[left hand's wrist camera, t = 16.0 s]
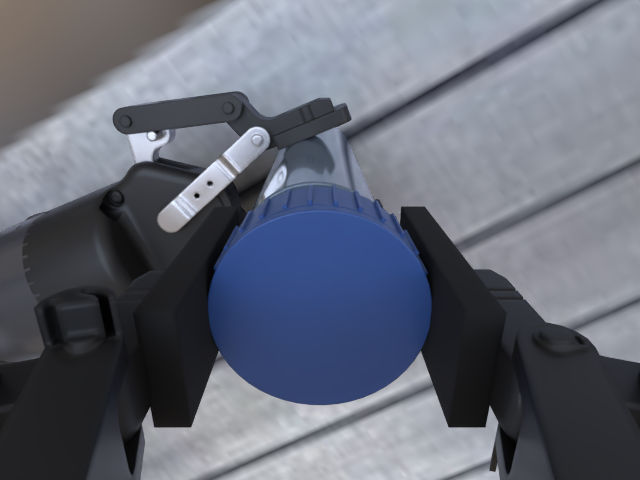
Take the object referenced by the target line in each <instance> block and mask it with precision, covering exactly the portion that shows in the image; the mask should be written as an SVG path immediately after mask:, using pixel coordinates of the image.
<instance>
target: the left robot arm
mask: <svg viewBox="0 0 640 480" xmlns="http://www.w3.org/2000/svg"><path fill="white" fill-rule="evenodd" d="M236 225H237V226H238V227H239V226H240V223H239V210H238V207H214V209H213V210H212V211H211V213H210V214H209V215H208V216H207V218H206V219H205V220H204V222H203V223H202V224H201V226H200V227H199V228H198V229H197V231H196V232H195V233H194V235H193V236H192V237H191V238H190V240H189V241H188V242H187V244H186V245H185V246H184V248H183V249H182V250H181V251H180V253H179V254H178V255H177V257H176V258H175V259H174V260H173V262H172V263H171V264H170V266H169V267H168V268H167V269H166V271H149V272H147V273H145V274H143V275H142V276H140V277H138V278H136V279H135V280H133V281H132V283H131V284H130V285H129V286H128V287H127V288H126V289H125V292H123V293H122V294H121V295H120V296H119V297H118V298H117V299H116V294H115V291H113V290H112V289H110V288H108V287H103V286H82V287H77V288H71V289H67V290H64V291H61V292H58V293H55V294H53V295H51V296H49V297H47V298H45V299H44V300H42V301H40V302H39V303H38V304H37V305H36V306H35V307H34V312H35V315H36V319H37V322H38V326H39V329H40V333H41V336H42V340H43V343H44V347H45V348H44V350H43V352H42V354H41V356H40V358H36V359H31V360H26V361H20V362H15V363H9V364H4V365H0V480H140V476H141V469H142V461H143V453H144V446H145V439H144V433H143V428H142V422H143V420H144V418H145V416H146V414H147V412H148V410H149V408H150V407H151V412H152V418H153V423H154V427H191V426H192V423H193V420H194V418H195V415H196V412H197V409H198V407H199V404H200V401H201V398H202V396H203V393H204V390H205V387H206V385H207V382H208V379H209V376H210V373H211V371H212V368H213V365H214V362H215V360H216V357H217V354H218V351H219V349H218V348H217V346H216V344H215V341H214V339H213V336H212V333H211V330H210V323H209V314H208V293H209V289H210V284H211V281H212V278H213V276H214V273H215V270H214V269H213V268H214V266H215V264H216V262H217V260H218V258H219V256H220V255H221V253H222V251H223V248H224V247H225V245H226V243H227V241H228V239H229V237H230V236H231V234H232V232H233V230H234V228H235V227H236ZM400 226H401V228H402V230H403V231H404V230H407V232H408V234H409V236H410V237H411V239H412V241H413V243H414V245H415V247H416V248H417V250H418V252H419V254H418V255H419V257H420V259H421V261H422V262H423V264H424V266H425V268H426V270H427V272H428V274H427V275H426V276H427V279H428V282H429V285H430V290H431V296H432V311H431V320H430V328H429V332H428V335H427V338H426V340H425V343H424V345H423V347H422V349H421V352H422V355H423V358H424V360H425V363H426V366H427V369H428V371H429V374H430V377H431V380H432V382H433V385H434V388H435V391H436V394H437V396H438V399H439V402H440V405H441V407H442V410H443V413H444V416H445V418H446V421H447V424H448V427H486V421H487V416H488V411H489V405H490V406H491V408H492V410H493V412H494V414H495V416H496V418H497V420H498V422H499V423H498V428H497V433H496V438H495V443H494V448H493V453H492V458H491V463H490V470H489V471H494V472H495V471H496V466H497V463H498V468H499V475H500V480H640V363H636V362H630V361H625V360H620V359H614V358H609V357H604V356H600V355H599V353H598V351H597V349H596V348H595V346H594V345H593V344H592V343H591V342H590V341H589V340H588V339H587V338H586V337H584V336H582V335H581V334H579V333H578V332H576V331H574V330H571V329H569V328H566V327H564V326H560V325H556V324H551V323H546V322H545V321H544V320H543V319H542V318H541V317H540V316H539V314H538V313H537V312H536V311H535V310H534V309H533V308H532V307H531V306H530V304H529V303H528V302H527V301H526V300H523V297H522V296H521V294H520V293H519V292H518V291H515V288H514V287H513V286H512V284H511V283H510V282H509V281H508V280H507V279H506V278H504V277H503V276H501V275H499V274H497V273H496V272H494V271H492V270H473V269H472V267H471V266H470V265H469V263H468V262H467V261H466V260H465V258H464V257H463V256H462V254H461V253H460V252H459V250H458V249H457V248H456V247H455V245H454V244H453V243H452V241H451V240H450V239H449V238H448V236H447V235H446V234H445V232H444V231H443V230H442V228H441V227H440V226H439V225H438V223H437V222H436V221H435V219H434V218H433V217H432V216H431V214H430V213H429V212H428V210H427V209H426V208H425V207H401V219H400Z"/></svg>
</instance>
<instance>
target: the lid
mask: <svg viewBox="0 0 640 480" xmlns="http://www.w3.org/2000/svg"><path fill="white" fill-rule="evenodd" d="M418 254H419V252H418V250H417V248H416V247H415V245H414V243H413V241H412V239H411V237H410V236H409V234H408V232H407V230H404V231H403V230H402V228H401V226H400V224H399V222H398V220H397V218H396V216H395V215H394V214H393V213H392V214H391V215H390V214H389V213H388V212H387V211H385V210H384V209H383V208H382V207H381V206H380V204H379V202H378V201H377V200H375V201H374V202H373V201H371V200H370V199H368V198H366V197H363V196H361V195H359V192H358V191H356V190H355V191H354V192H350V191H347V190H343V189H337V187H336V186H335V185H332V188H331V187H313V185H309V188H301V189H297V190H293V191H291V189H287V190H286V193H283V194H281V195H278V196H276V197H274V198H272V199H270V198H269V197H268V198H266V199H265V202H264V203H263V204H262V205H261V206H259V207H258V208H257V209H255V210H254V211H252V210H250V211H249V212H248V213H247V215H246V217H245V219H244V221H243V223H242V224H241V225H240V226H239V227H238V226H237V225H236V227H235V228H234V230H233V232H232V234H231V236H230V237H229V239H228V241H227V243H226V245H225V247H224V248H223V251H222V253H221V255H220V256H219V258H218V260H217V262H216V264H215V266H214V268H213V269H214V270H215V273H214V276H213V278H212V281H211V284H210V289H209V293H208V314H209V323H210V330H211V333H212V336H213V339H214V341H215V344H216V346H217V348H218V349H219V351H220V353H221V355H222V356H223V358H224V359H225V360H226V362H227V363H228V364H229V366H230V367H231V368H232V369H233V370H234V371H235V372H236V373H237V374H238V375H239V376H240V377H242V378H243V379H244V380H245V381H247V382H248V383H249V384H251V385H252V386H254V387H256V388H257V389H259V390H261V391H263V392H265V393H267V394H269V395H271V396H274V397H277V398H280V399H282V400H286V401H290V402H294V403H300V404H308V405H331V404H340V403H345V402H350V401H354V400H357V399H360V398H363V397H366V396H368V395H370V394H373V393H375V392H377V391H379V390H380V389H382V388H384V387H386V386H387V385H389V384H390V383H391V382H393V381H394V380H396V379H397V378H398V377H399V376H400V375H401V374H402V373H404V372H405V371H406V370H407V368H408V367H409V366H410V365H411V364H412V363H413V361H414V360H415V359H416V357H417V355H418V354H419V352H420V351H421V349H422V347H423V345H424V343H425V340H426V338H427V335H428V332H429V328H430V320H431V311H432V296H431V290H430V285H429V282H428V279H427V276H426V275H427V274H428V272H427V270H426V268H425V266H424V264H423V262H422V261H421V259H420V257H419V255H418Z"/></svg>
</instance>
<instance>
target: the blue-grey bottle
mask: <svg viewBox="0 0 640 480" xmlns="http://www.w3.org/2000/svg"><path fill="white" fill-rule="evenodd" d="M309 185H313V187H331V188H332V185H335V186H336V187H337V189H343V190H347V191H350V192H354V191H355V190H356V191H358V192H359V195H361V196H363V197H366V198H368V199H370V200H371V201H373V202H374V198H373V196H372V194H371V191H370V189H369V187H368V185H367V182H366V180H365V178H364V175H363V173H362V171H361V169H360V166H359V164H358V162H357V159H356V157H355V155H354V153H353V150H352V148H351V146H350V143H349V141H348V139H347V138H346V136H345V135H344V134H343V133H342V132H341V131H340V130H339V129H338V128H337V127H335V128H332V129H330V130H328V131H325V132H323V133H320V134H318V135H315V136H313V137H310V138H308V139H306V140H303V141H300V142H298V143H295V144H293V145H291V146H289V147H286V148H284V149H281V150H280V151H279V153H278V155H277V157H276V160H275V162H274V164H273V166H272V168H271V170H270V172H269V175H268V177H267V179H266V181H265V183H264V185H263V188H262V190H261V192H260V194H259V196H258V198H257V200H256V203H255V205H254V207H253V209H252V211H254V210H255V209H257V208H258V207H259V206H261V205H262V204H263V203H264V202H265V199H266V198H268V197H269V198H270V199H272V198H274V197H276V196H278V195H281V194H283V193H286V190H287V189H291V191H293V190H297V189H301V188H309Z"/></svg>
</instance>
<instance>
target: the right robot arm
mask: <svg viewBox="0 0 640 480" xmlns="http://www.w3.org/2000/svg"><path fill="white" fill-rule="evenodd" d="M350 120H351V116H350V113H349V111H348V108H347V105H346V104H345V103H343V104H340V105H337V106H335V107H333V105H332V102H331V99H330V98H318V99H315V100H313V101H311V102H308V103H306V104H303V105H301V106H299V107H296V108H294V109H292V110H289V111H287V112H285V113H282V114H280V115H277V116H275V117H265V116H263V115H261V114H259V113H258V112H257V110H256V109H255V108H254V107H253V106H252V105H251V104H250V103H249V100H248V98H247V96H246V95H245V94H243V93H242V92H238V91H236V92H228V93H220V94H213V95H205V96H197V97H190V98H182V99H174V100H167V101H159V102H152V103H144V104H138V105H133V106H128V107H123V108H119V109H118V110H116V111H115V113H114V115H113V123H114V126H115V127H116V129H117V130H118V131H119V132H121V133H123V134H127V137H128V141H129V144H130V148H131V151H132V155H133V158H134V162H135V165H133V166H132V167H131V168H130V169H129V171H128V172H127V174H126V175H125V177H124V178H123V179H122V180H121V181H119V182H116V183H114V184H111V185H109V186H107V187H104V188H102V189H100V190H97V191H95V192H93V193H90V194H88V195H85V196H83V197H81V198H78V199H76V200H74V201H71V202H69V203H67V204H64V205H62V206H59V207H57V208H55V209H52V210H50V211H48V212H43V213H39V214H36V215H33V216H30V217H29V218H28V219H26V220H25V221H24V222H21V223H19V224H17V225H14V226H12V227H9V228H7V229H5V230H3V231H1V232H0V365H4V364H9V363H15V362H20V361H26V360H31V359H34V358H38V357H40V356H41V354H42V352H43V350H44V348H45V347H44V343H43V340H42V336H41V333H40V329H39V326H38V322H37V319H36V315H35V312H34V307H35V306H36V305H37V304H38V303H39V302H40V301H42V300H44V299H45V298H47V297H49V296H51V295H53V294H55V293H58V292H61V291H64V290H67V289H71V288H77V287H82V286H103V287H108V288H110V289H112V290H113V291H115V294H116V299H117V298H118V297H119V296H120V295H121V294H122V293H123V292H125V289H126V288H127V287H128V286H129V285H130V284H131V283H132V281H133V280H135V279H136V278H138V277H140V276H142V275H143V274H145V273H147V272H149V271H166V269H167V268H168V267H169V266H170V264H171V263H172V262H173V260H174V259H175V258H176V257H177V255H178V254H179V253H180V251H181V250H182V249H183V248H184V246H185V245H186V244H187V242H188V241H189V240H190V238H191V237H192V236H193V235H194V233H195V232H196V231H197V229H198V228H199V227H200V226H201V224H202V223H203V222H204V220H205V219H206V218H207V216H208V215H209V214H210V213H211V211H212V210H213V209H214V207H238V210H239V223H240V225H241V224H242V223H243V221H244V219H245V217H246V215H247V213H246V212H245V211H244V210H243V208H242V207H241V204H240V199H239V194H238V191H237V189H236V187H235V185H234V183H233V180H234V179H235V178H236V177H237V176H238V175H239V174H240V173H241V172H242V171H243V170H244V169H245V168H246V167H248V166H249V165H250V164H251V163H252V162H253V161H254V160H255V159H256V158H258V157H259V156H260V155H261V154H262V153H263V152H264V151H266V150H268V149H271V148H273V147H276V146H277V147H278V150H281V149H284V148H286V147H289V146H291V145H293V144H295V143H298V142H300V141H303V140H306V139H308V138H310V137H313V136H315V135H318V134H320V133H323V132H325V131H328V130H330V129H332V128H335V127H337V126H340V125H342V124H345V123H347V122H349V121H350ZM224 122H227V123H228V124H229V125H230V126H231V127H232V129H233V130H234V131H235V132H236V133H237V134H238V135H239V136H240V138H239V139H238V140H237V141H236V142H235V143H234V144H233V145H232V146H230V147H229V148H228V149H227V150H226V151H225V152H224V153H223V154H222V155H221V156H220V157H219V158H218V159H216V160H215V161H214V162H213V163H212V164H211V165H210V166H209V167H208V168H207V169H205V168H201V167H197V166H193V165H189V164H185V163H180V162H176V161H172V160H168V159H164V158H160V157H159V150H160V148H161V147H162V146H164V145H166V144H168V143H170V142H171V141H173V139H174V138H175V134H176V132H175V129H177V128H185V127H193V126H200V125H208V124H216V123H224ZM375 200H377V201H378V202H379V204H380V206H381V207H382V208H383V206H382V204H381V202H380V200H378V199H375ZM375 200H374V201H375Z"/></svg>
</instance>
